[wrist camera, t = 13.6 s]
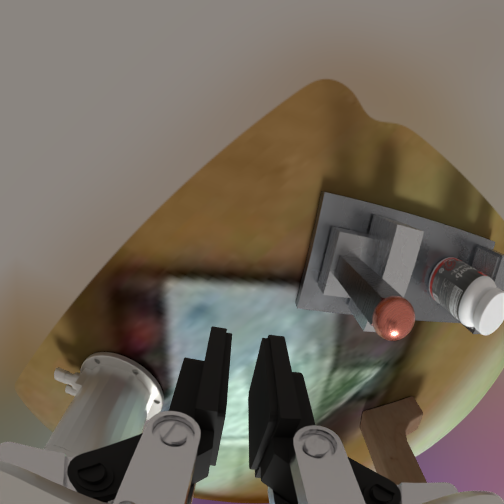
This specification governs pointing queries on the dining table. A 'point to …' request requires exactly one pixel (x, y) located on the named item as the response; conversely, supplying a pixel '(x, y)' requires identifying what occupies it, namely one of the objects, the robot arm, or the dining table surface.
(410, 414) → the wooden block
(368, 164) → the dining table surface
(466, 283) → the pill bottle
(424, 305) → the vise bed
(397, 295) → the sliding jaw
